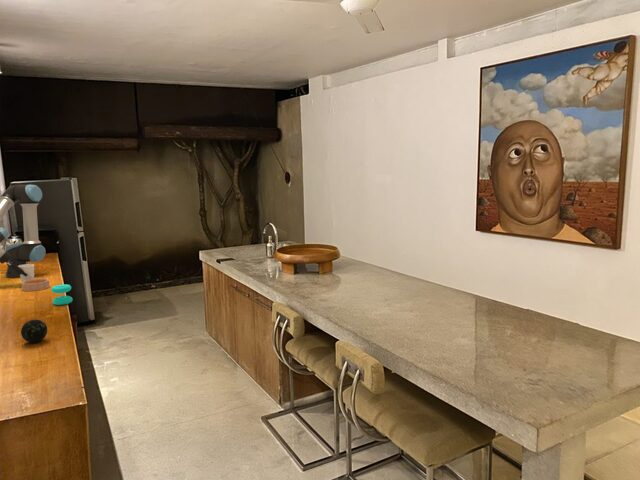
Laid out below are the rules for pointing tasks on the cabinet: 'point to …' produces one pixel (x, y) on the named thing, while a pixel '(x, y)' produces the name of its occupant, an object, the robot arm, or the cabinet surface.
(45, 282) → the bowl
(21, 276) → the foam cup
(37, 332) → the decorative stone
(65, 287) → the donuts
